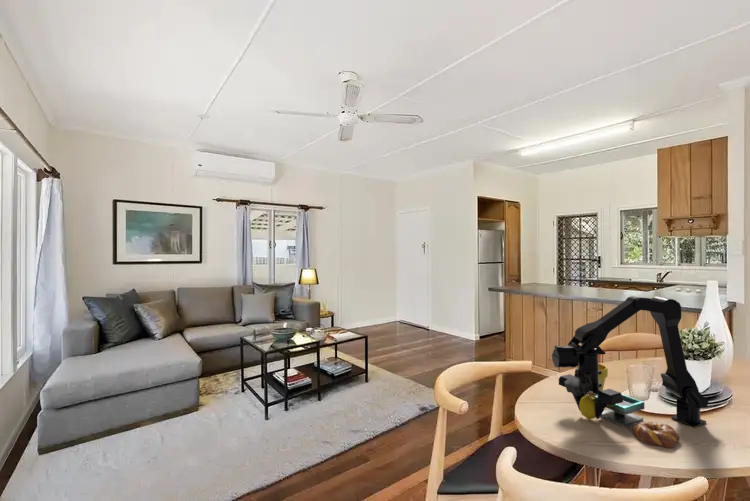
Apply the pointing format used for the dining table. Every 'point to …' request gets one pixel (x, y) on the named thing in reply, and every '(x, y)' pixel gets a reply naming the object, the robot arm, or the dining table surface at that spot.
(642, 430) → the pretzel
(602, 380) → the plant pot
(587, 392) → the robot arm
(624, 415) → the teal tray on stand
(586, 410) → the lemon
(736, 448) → the dining table surface
